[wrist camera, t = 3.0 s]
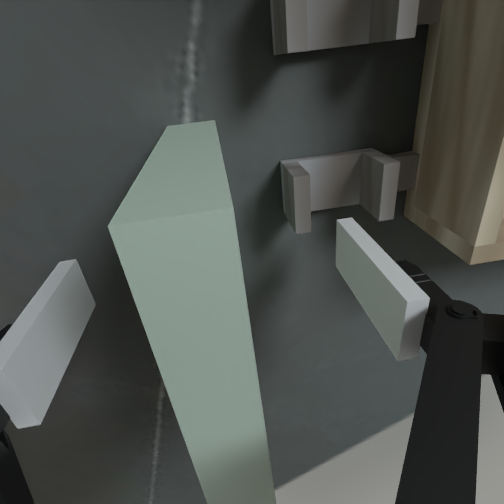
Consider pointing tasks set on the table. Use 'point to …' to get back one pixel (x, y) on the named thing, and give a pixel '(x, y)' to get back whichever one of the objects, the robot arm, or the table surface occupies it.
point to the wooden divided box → (427, 121)
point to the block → (197, 309)
